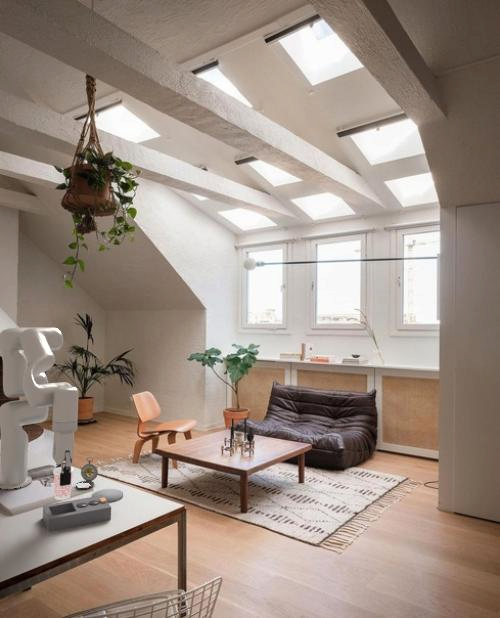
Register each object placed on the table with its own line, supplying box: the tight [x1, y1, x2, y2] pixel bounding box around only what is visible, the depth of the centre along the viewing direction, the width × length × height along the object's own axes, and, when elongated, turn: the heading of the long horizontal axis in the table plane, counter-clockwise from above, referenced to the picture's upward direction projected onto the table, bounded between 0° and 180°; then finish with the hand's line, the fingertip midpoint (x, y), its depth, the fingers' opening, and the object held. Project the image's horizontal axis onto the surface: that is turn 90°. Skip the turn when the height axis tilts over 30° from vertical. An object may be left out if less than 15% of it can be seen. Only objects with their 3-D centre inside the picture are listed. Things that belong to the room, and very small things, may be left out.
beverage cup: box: [52, 461, 75, 501], centre depth 154 cm, size 6×6×14 cm
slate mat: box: [91, 488, 124, 504], centre depth 174 cm, size 11×11×1 cm
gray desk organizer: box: [42, 495, 112, 533], centre depth 156 cm, size 11×19×5 cm, turn 122°
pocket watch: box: [76, 457, 99, 488], centre depth 184 cm, size 8×8×10 cm
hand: (63, 480), depth 154 cm, fingers closed on beverage cup, 6 cm apart
